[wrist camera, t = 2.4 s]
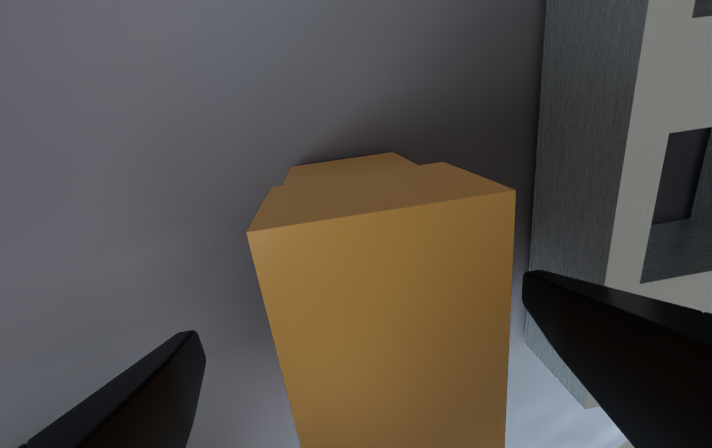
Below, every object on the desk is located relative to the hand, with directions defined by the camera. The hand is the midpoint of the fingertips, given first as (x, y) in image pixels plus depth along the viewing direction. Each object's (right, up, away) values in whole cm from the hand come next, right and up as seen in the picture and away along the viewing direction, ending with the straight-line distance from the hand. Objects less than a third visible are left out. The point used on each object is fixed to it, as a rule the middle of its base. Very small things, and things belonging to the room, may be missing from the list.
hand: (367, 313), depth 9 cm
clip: (0, +1, +2) cm, 2 cm away
